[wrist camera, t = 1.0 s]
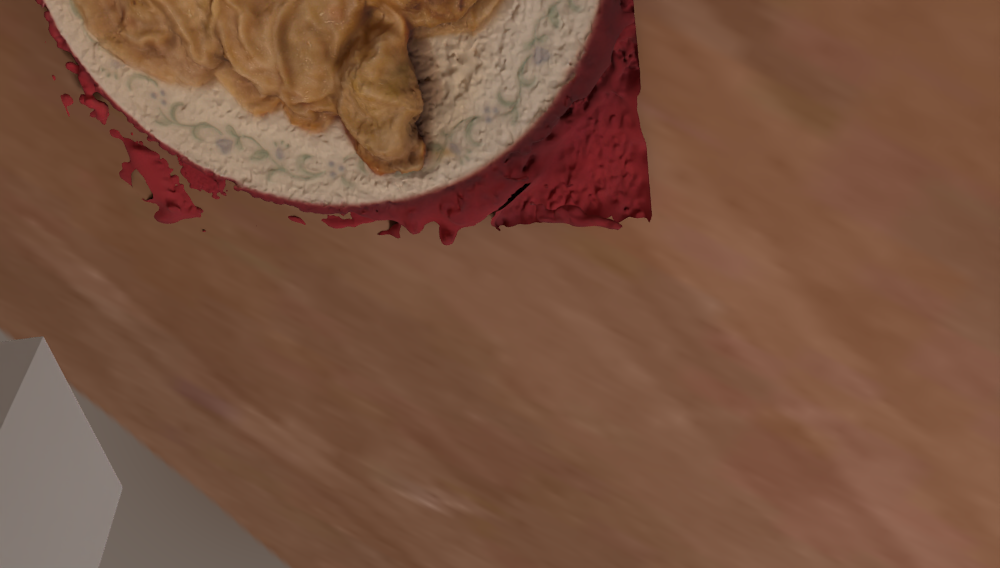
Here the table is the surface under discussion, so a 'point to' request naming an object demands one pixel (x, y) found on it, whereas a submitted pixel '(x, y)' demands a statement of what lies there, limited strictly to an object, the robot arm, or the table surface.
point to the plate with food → (374, 105)
